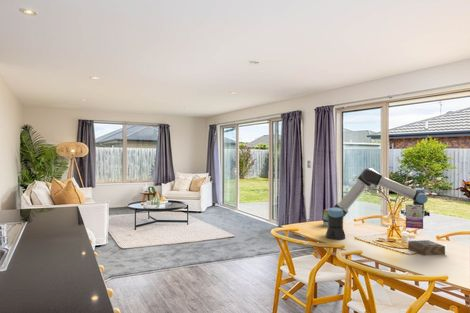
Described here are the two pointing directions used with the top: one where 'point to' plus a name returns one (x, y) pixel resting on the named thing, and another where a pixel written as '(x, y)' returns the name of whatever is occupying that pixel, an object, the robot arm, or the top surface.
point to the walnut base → (426, 247)
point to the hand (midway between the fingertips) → (413, 214)
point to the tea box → (325, 217)
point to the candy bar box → (414, 216)
